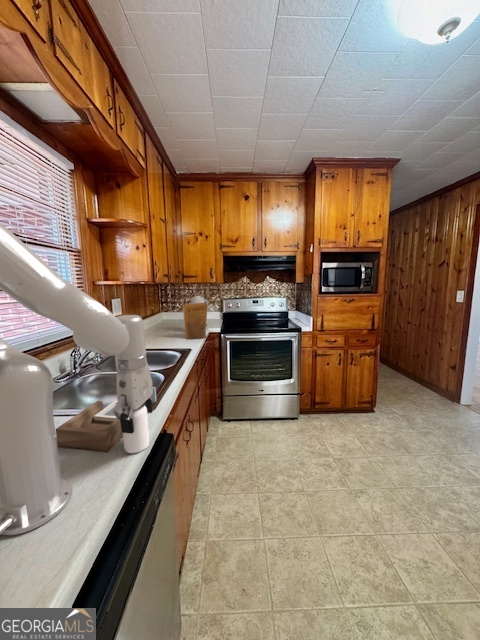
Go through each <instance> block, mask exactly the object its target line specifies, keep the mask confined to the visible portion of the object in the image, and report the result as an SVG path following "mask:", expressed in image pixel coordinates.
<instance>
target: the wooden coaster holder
mask: <svg viewBox="0 0 480 640" xmlns="http://www.w3.org/2000/svg"><path fill="white" fill-rule="evenodd" d="M103 409H104V401H103V400H97V401H96V402H94V403H93V404H91V405H89V406H88V407H87V408H85V409H84V410H82V411H80V412H79V413H77V414H76V415H74V416H73V417H71V418H69V420H67V421H66V422H64V423H62V424H60V425H59V426H58V427H55V432H56V440H57V448H61V449H69V450H81V451H89V452H91V451H92V452H98V453H99V452H100V453H109V452H110V451H111V449H113V448H114V447H115V446H116V445H117V444H118V442H120V441H121V439H122V440H123V433H122V430H121V422H120V420H119V419H116V420H115V421H114V422H113V423H106V422H94V416H95V415H96V414H97V413H99V412H100V411H102V410H103Z"/></svg>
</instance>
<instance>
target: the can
mask: <svg viewBox="0 0 480 640" xmlns="http://www.w3.org/2000/svg"><path fill="white" fill-rule="evenodd" d="M127 406H128V407H129V405H127ZM124 413H125V414H128V410H125V412H124ZM131 418H133V425H134V432H133V433H123V438H122V440H123V448H124V451H125V452H126V453H128V454H131V455H132V454H138V453H142V452H143V451H145V450H146V449H147V448H148V447H149V445H150V433H149V419H148V418H149V417H148V413H147V408H146V406H145V403H143V404H142V405H141V406H140V407H139V408H138V409H136V410H134V409H133V412H132V415H131Z"/></svg>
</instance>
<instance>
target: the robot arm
mask: <svg viewBox="0 0 480 640" xmlns="http://www.w3.org/2000/svg"><path fill="white" fill-rule="evenodd" d="M0 290H1V291H3V292H4V293H5V294H7V295H8V296H10V297H11V298H12V299H13V300H15V301H16V302H17V303H19V304H20V305H22V306H23V307H24V308H25V309H27V310H29V311H31V312H33V313H34V314H37V315H39V316H41V317H44V318H46V319H49V320H52V321H54V322H56V323H58V324H60V325H62V326H64V327H66V328H67V329H69V330H70V331H72V340H73V342H74V344H76V345H77V347H79V348H81V349H83V350H85V351H87V352H88V351H89V352H93V353H96V354H99V355H103V356H107V357H114V360H115V366H116V367H115V368H116V397H117V398H116V399H117V401H118V402H117V404H116V406H115V407H114V409H113V412H114V414H115V415H116V418H118V419H119V420H120V422H121V430H122V433H133V432H134V425H133V418H131V415H132V412H133V409H134V410H136V409H138V408H139V407H140V406H141V405H142V404H143V403H145V406H146V408H147V414H152V413H153V411H154V410H153V402H152V400H150V399H152V394H153V387H154V386H153V383H154V381H153V379H152V375H151V370H150V366H149V364H148V359H147V349H146V341H145V340H146V339H145V331H144V330H145V329H144V320H143V318H142V317H141V316H140V315H137V314H124V315H119V316H115V315H114V314H113V312H111V311H110V310H109V309H107V307H105V306H104V305H103V304H102V303H100V302H99V301H97V300H96V299H95V298H93V297H92V296H91V295H89V294H87V293H85V292H84V291H83V290H81V289H79V288H78V287H77V286H76V285H74V284H72V283H71V282H69V281H67V280H66V279H65V278H63V276H61V275H60V274H58V272H56V270H54V269H53V268H52V267H51V266H50V265H49V264H48V263H46V262H45V261H44V260H43V259H42V258H41V257H40V256H39V255H37V253H35V251H33V250H32V248H30V247H28V245H26V244H25V243H24V242H23V241H22V240H21V239H20V238H18V237H17V236H16V235H15V234H14V233H13V232H12V231H11V230H9V229H8V228H7V227H6V226H5V225H4V224H2V223H0ZM53 396H54V377H53V375H52V372H51V370H50V368H49V367H48V366H47V364H46V363H44V362H43V361H41V360H40V359H38V358H36V357H34V356H32V355H29V354H26V353H24V352H22V351H20V350H18V349H17V348H16V347H14V346H12V345H11V344H9V342H6V340H3V339H2V338H1V337H0V535H2V536H14V535H15V536H16V535H20V534H25V533H27V532H29V531H33V530H34V529H37V528H38V527H41V526H42V525H44V524H47V522H49V521H51V520H52V519H53V518H55V517H56V516H58V514H60V512H62V510H63V509H64V508H65V507H66V506H67V504H68V503H69V501H70V500H71V497H72V495H73V489H72V484H71V483H70V482H69V481H68V480H67V479H63V478H62V475H61V474H62V473H61V467H60V466H61V465H60V459H59V457H60V456H59V449H58V448H59V447H58V444H57V436H56V425H55V417H54V406H53V405H54V403H53V401H54V397H53ZM127 405H129V407H128V406H127ZM125 410H128V414H125V413H124V412H125Z"/></svg>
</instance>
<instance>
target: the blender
mask: <svg viewBox="0 0 480 640" xmlns="http://www.w3.org/2000/svg"><path fill="white" fill-rule="evenodd" d="M195 303H207V311H209V301H208V299H206V298H205V297H201V295H195V296H194V297H191V298H190V304H195ZM206 327H207V323H206Z"/></svg>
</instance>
